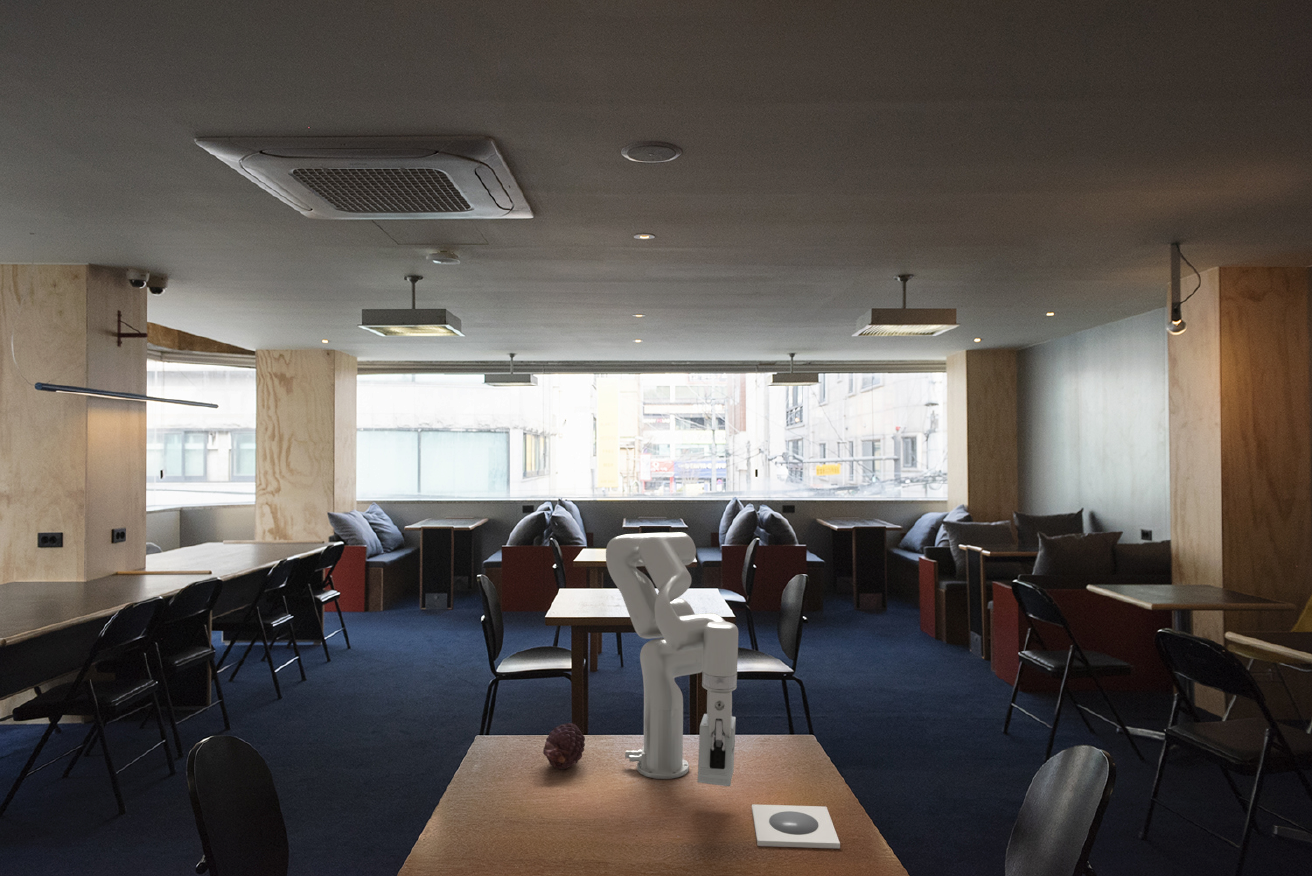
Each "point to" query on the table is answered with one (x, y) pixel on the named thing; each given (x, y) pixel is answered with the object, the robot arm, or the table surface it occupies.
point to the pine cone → (564, 746)
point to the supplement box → (705, 745)
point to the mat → (794, 826)
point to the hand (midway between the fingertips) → (716, 759)
